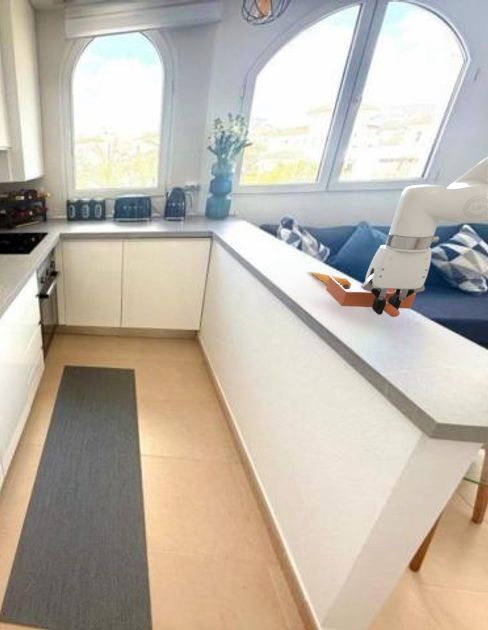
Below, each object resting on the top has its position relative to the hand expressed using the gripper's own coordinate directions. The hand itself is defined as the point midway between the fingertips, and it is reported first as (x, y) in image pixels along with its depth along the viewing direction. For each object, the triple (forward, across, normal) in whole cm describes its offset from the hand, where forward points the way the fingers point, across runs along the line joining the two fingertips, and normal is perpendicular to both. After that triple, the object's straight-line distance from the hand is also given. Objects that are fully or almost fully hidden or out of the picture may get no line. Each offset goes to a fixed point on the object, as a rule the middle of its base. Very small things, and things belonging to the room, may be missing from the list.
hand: (383, 312), depth 88 cm
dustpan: (+1, 0, -6) cm, 6 cm away
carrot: (+5, +1, -34) cm, 34 cm away
